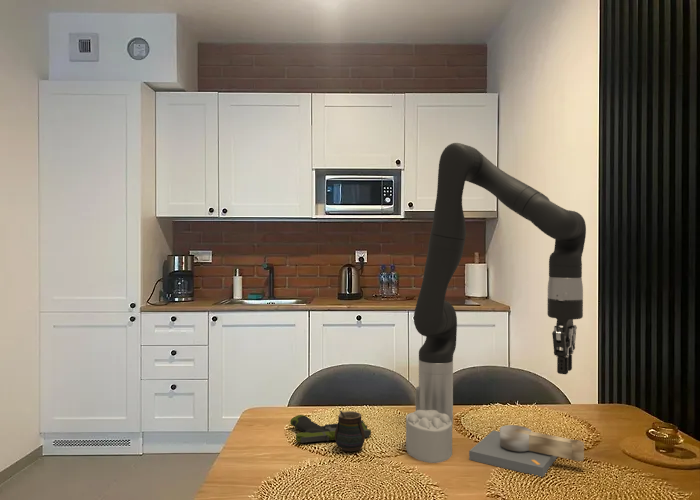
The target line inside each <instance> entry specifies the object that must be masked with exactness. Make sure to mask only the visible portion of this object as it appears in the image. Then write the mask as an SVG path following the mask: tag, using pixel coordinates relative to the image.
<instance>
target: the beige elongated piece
mask: <svg viewBox="0 0 700 500" xmlns="http://www.w3.org/2000/svg"><path fill="white" fill-rule="evenodd" d="M499 432H500V446H501V447H503V448H505V449H507V450H511V451H519V452H523V451H534V452H539V453H543V454H548V455H553V456H557V458H562V459H567V460H571V461H574V462H584V460H585V443H584V441H582V440H578V439H572V438H566V437H561V436H556V435H551V434H546V433H540V432H535V431H532V429H530V428H528V427H526V426H521V425H515V424H507V425H502V426H500V427H499Z"/></svg>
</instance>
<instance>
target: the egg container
mask: <svg viewBox="0 0 700 500" xmlns="http://www.w3.org/2000/svg"><path fill="white" fill-rule="evenodd" d="M405 449H406V452H407V454H408V455H409V456H410V457H412V458H414V459H416V460H417V461H420V462H425V463H428V464H429V463H430V464H437V463H442V462H445V461H448V460H449V459H450V458H451V457H452V456H453V424H452V422H451V420H450V417H449V416H448V415H447V414H442V413H439V412H438V411H436V410H417V411H416V410H415V411H414V412H410V413H408V414H407V415H405Z"/></svg>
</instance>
